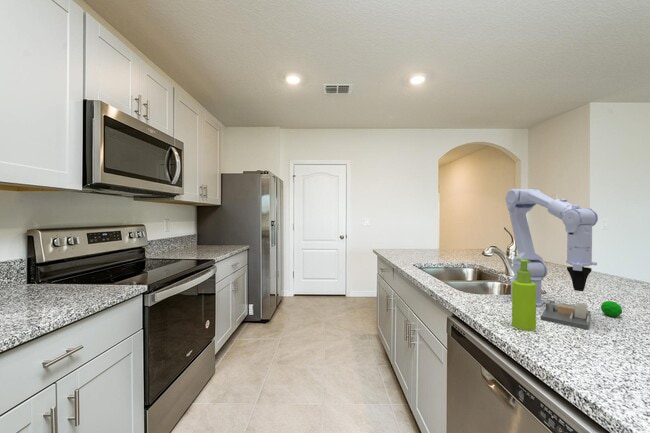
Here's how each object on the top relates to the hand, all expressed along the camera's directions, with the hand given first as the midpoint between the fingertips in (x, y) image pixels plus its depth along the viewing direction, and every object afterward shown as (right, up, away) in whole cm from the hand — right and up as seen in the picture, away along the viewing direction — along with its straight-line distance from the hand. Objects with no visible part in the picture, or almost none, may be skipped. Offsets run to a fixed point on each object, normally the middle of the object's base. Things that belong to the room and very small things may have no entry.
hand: (578, 290), depth 87 cm
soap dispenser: (-20, -10, -3) cm, 22 cm away
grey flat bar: (+1, -7, +5) cm, 9 cm away
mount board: (0, -10, +4) cm, 11 cm away
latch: (+2, -9, +1) cm, 9 cm away
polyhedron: (+16, -10, +5) cm, 19 cm away
